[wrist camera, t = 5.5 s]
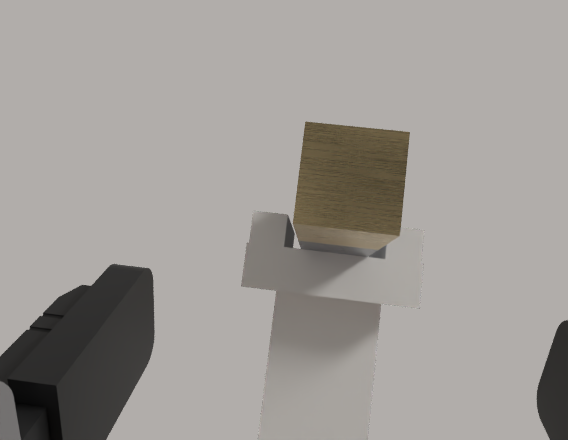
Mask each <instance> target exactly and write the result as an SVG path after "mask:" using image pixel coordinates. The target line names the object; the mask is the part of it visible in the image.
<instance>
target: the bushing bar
mask: <svg viewBox="0 0 568 440" xmlns="http://www.w3.org/2000/svg"><path fill="white" fill-rule="evenodd" d="M409 134H410V132H403V131H393V130H383V129H372V128H362V127H353V126H343V125H332V124H322V123H313V122H305V129H304V138H303V146H302V154H301V162H300V170H299V179H298V186H297V195H296V203H295V211H294V219H293V225H294V228H295V231H296V234H297V238H298V241H299V244H300V247H301V249H305V250H313V251H321V252H330V253H338V254H347V255H355V256H363V257H368V256H370V255H371V254H373V253H374V252H376V251H377V250H379V249H380V248H382V247H384V246H385V245H387V244H388V243H390V242H391V241H393V240H394V239H396V238H397V237H399V236H400V229H401V217H402V208H403V197H404V187H405V176H406V166H407V156H408V145H409Z"/></svg>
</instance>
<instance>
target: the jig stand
mask: <svg viewBox="0 0 568 440" xmlns="http://www.w3.org/2000/svg"><path fill="white" fill-rule="evenodd" d="M423 239H424V230H417V229H409V228H401V229H400V236H399V237H397V238H396V239H394V240H393V241H391V242H390V243H388V244H387V245H385V246H384V247H382V248H380V249H379V250H377V251H376V252H374V253H373V254H371V255H370V256H369V257H363V256H355V255H347V254H338V253H330V252H321V251H313V250H305V249H296V248H293V242H294V231H293V228H292V225H291V223H290V220H289V217H288V215H286V214H278V213H268V212H259V211H253V218H252V226H251V233H250V240H249V243H247V247H246V254H245V262H244V269H243V277H242V285H241V286H243V287H251V288H259V289H266V290H275V291H276V298H275V306H274V314H273V322H272V330H271V338H270V346H269V355H268V362H267V371H266V378H265V387H264V395H263V402H262V410H261V418H260V427H259V435H258V440H368V430H369V421H370V411H371V401H372V391H373V381H374V371H375V361H376V351H377V340H378V330H379V320H380V310H381V304H386V305H394V306H402V307H410V308H418V309H419V308H420V298H421V297H420V296H421V287H422V276H423V264H422V263H421V261H422V250H423Z"/></svg>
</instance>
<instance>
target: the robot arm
mask: <svg viewBox="0 0 568 440" xmlns="http://www.w3.org/2000/svg"><path fill="white" fill-rule="evenodd" d="M153 343H154V296H153V275H152V272H151V270H150V269H149V268H142V267H133V266H125V265H117V264H112V265H110V266H109V267H108V268H107V269H106V271H105V272H104V273H103V274H102V275H101V276H100V277H99V278H98V279H97V280H96V281H95V283H94V284H93V285H92V286H87V285H81V286H79V287H77V288H76V289H73V290H72V291H70V292H68V293H66V294H64V295H62V296H60V297H58V298H57V300H56V301H54V303H53V304H52V305H51V306H50V307H49V308H48V309H47V310H46V311H45V312H44V313H43V316H40V317H39V318H38V319H37V320H36V321H35V322H34V323H33V324H32V325H31V326H30V329H29V330H26V331H25V332H24V333H23V334H22V335H21V336H20V337H19V338H18V339H17V340H16V341H15V342H14V343H13V344H12V345H11V346H10V347H9V348H8V349H7V350H6V351H5V352H4V353H3V354H2V355H1V356H0V440H106V439H107V437H108V435H109V433H110V432H111V430H112V428H113V426H114V424H115V422H116V421H117V419H118V417H119V415H120V413H121V411H122V410H123V408H124V406H125V404H126V402H127V401H128V399H129V397H130V395H131V393H132V392H133V390H134V388H135V386H136V384H137V383H138V381H139V379H140V377H141V375H142V374H143V372H144V370H145V368H146V366H147V364H148V362H149V360H150V356H151V353H152V349H153ZM537 408H538V413H539V416H540V419H541V422H542V423H543V426H544V428H545V430H546V432H547V434H548V436H549V438H550V440H568V321H567V320H566V321H563V322H562V323H561V324H560V325H559V327H558V329H557V331H556V334H555V337H554V340H553V343H552V346H551V349H550V352H549V355H548V358H547V361H546V364H545V367H544V370H543V373H542V376H541V379H540V382H539V385H538V390H537Z"/></svg>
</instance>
